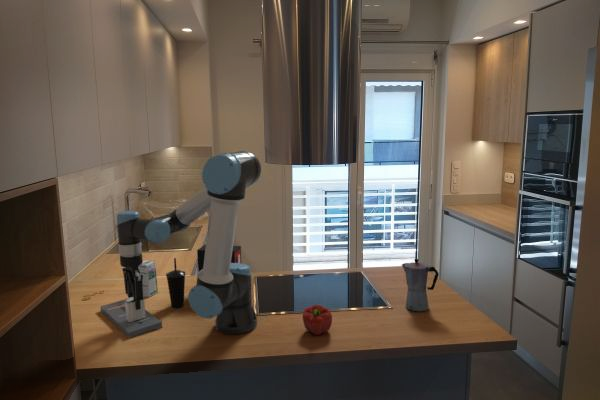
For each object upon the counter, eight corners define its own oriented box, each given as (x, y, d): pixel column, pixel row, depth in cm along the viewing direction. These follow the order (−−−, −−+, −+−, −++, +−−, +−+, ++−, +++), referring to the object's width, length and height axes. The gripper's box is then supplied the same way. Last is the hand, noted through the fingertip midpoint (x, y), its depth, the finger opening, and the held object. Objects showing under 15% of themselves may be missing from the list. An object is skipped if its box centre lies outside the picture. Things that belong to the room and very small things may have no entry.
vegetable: (330, 341, 148) (330, 313, 146) (300, 338, 150) (299, 311, 148) (333, 326, 159) (333, 300, 157) (305, 324, 161) (305, 298, 159)
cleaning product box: (199, 294, 190) (197, 250, 186) (207, 287, 198) (205, 244, 195) (235, 296, 187) (234, 251, 183) (242, 289, 195) (240, 245, 192)
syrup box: (149, 297, 187) (147, 265, 184) (138, 296, 189) (135, 263, 186) (158, 292, 192) (155, 261, 190) (146, 291, 194) (144, 259, 191)
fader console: (161, 327, 159) (161, 321, 159) (128, 338, 152) (128, 332, 151) (131, 302, 182) (130, 297, 181) (100, 310, 174) (100, 305, 173)
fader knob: (145, 317, 162) (144, 297, 161) (129, 322, 158) (127, 301, 157) (142, 314, 165) (140, 294, 163) (126, 319, 161) (124, 299, 159)
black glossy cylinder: (182, 310, 174) (179, 261, 170) (164, 308, 175) (161, 260, 172) (190, 302, 181) (188, 256, 178) (173, 301, 183) (170, 255, 179)
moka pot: (404, 299, 182) (405, 253, 179) (441, 308, 173) (443, 259, 170) (395, 307, 175) (396, 259, 171) (433, 316, 166) (435, 266, 162)
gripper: (150, 256, 154) (154, 319, 158) (132, 247, 166) (137, 305, 170) (128, 261, 149) (134, 326, 153) (112, 251, 161) (117, 311, 165)
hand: (135, 315), depth 161 cm, fingers closed on fader knob, 3 cm apart
